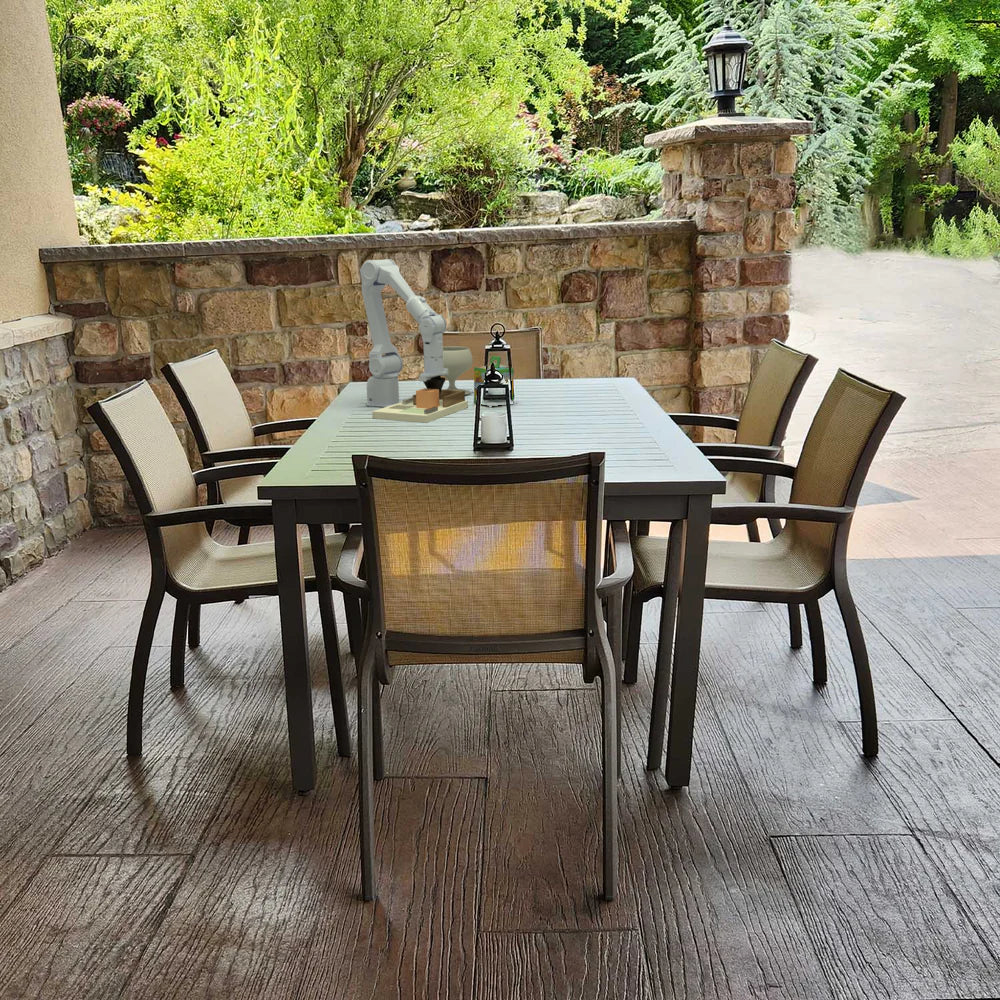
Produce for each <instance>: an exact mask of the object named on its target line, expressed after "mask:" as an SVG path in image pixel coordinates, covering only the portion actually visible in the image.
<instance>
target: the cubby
mask: <svg viewBox="0 0 1000 1000" xmlns="http://www.w3.org/2000/svg"><path fill="white" fill-rule="evenodd" d="M412 397H413V405H416V393H415V394H413V395H412ZM439 400H443V407H445V408H446V407H449V406H452V405H454V404H457V403H460V402H463V401H466V395H465V391H458V390H445V389H444V388H442V390H441V394H440V399H439Z"/></svg>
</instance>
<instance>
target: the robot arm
mask: <svg viewBox="0 0 1000 1000" xmlns="http://www.w3.org/2000/svg"><path fill="white" fill-rule="evenodd" d="M359 272H360V274H359V275H360V277H361V292H362V293H361V295H362V298H363V303H364V308H365V314H366V317H367V318H366V319H367V323H368V327H369V331H370V337H371V341H372V346H373V347H372V349H371V350H370V351H369V353H368V357H369V360H368V361H369V362H368V369H369V372H370V373H371V375H372V376H370V377H369V378H368V379H367V380H366V381H367V383H366V399H367V401H366V404H365V406H367V407H368V406H369V407H380V408H384V407H388V406H391V405H394V404H397V403H400V402H401V401H400V392H399V391H400V390H399V387H400V386H399V376H400V373H401V372H402V370H403V367H404V366H403V365H404V362H403V359H402V357H401V355H400V354H399V350H398V348H397V347H396V346H395V345H394V344H392V341H391V337H390V332H389V326H388V322H387V321H388V320H387V317H386V313H385V309H384V308H385V307H384V304H383V298H382V291H383V290H384V288H385V287H386V286H387V285H389V286H390V287H391V288H392V289H393V290H394V291H395V292H396V293H397V294H398V295H399V296H400V297H401V298H402V299H403V301H404V302H405V303H406V305H405V307H406V308H405V309H406V310H407V311H408V313H409V314H410V315H411V317H412V318H414V320H415V321H416V322H417V324H418V331H419V333H420V334H421V339H422V343H423V369H424V371H423V372H422V373H421V374H418V377H419V382H423V384H424V386H425V387H426V388H427V389H439V399H440V394H441V390H442V389H443V386H444V384H445V383H446V377H444V376H443V375H448V368H443V347H444V342H443V341H444V340H443V334H444V333H445V332H446V330H447V321H446V319H445V318H444V316H443V315H441V314H438V313H436V312H435V310H433V308H432V307H430V305H429V304H428V302H427V300H426V298H425V297H423V296H422V295H416V294H415V292H414V291H413V290H412V288H411V287H410V285H409V284H408V283H407V281H406V280H405V279H404V277H403V275H402V273H400V267H399V266H398V265H397V264H396V262H395V261H394V260H393V259H391V258H385V259H368V260H365V261H364V263H363V264H362V266H361V267H360V268H359Z"/></svg>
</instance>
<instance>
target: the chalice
mask: <svg viewBox="0 0 1000 1000" xmlns="http://www.w3.org/2000/svg"><path fill="white" fill-rule="evenodd" d="M473 359H474V358H473V355H472V353H471V350H470V348H469V347H467V346H459V345H458V346H457V345H456V346H455V345H453V346H451V345H450V346H443V368H448V375H443V376H442V377H444V378H445V379H447V381H448V387H447V388H445V389H444V390H458V391H465V396H466V395H469V394H471V391H470V390H467V389H461V388H460V389H459V388H457V387H456V380H457V379H458V378H459V377H460V376H461V375H463V374H465V373H466V372H468V371H469V370H470V369H471V368H472V367H473V363H474V360H473Z"/></svg>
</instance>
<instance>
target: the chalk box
mask: <svg viewBox="0 0 1000 1000" xmlns="http://www.w3.org/2000/svg"><path fill="white" fill-rule="evenodd" d="M501 360H502V356H497V355H496V356H495V355H491V358H490V361H489V362H490V363H493V364H494V362H495V361H497V363H496V364H494V366H495V368H496V369H497V370H498V371H499V372H500V373H501V374H502V375H503V376H504V379H505V381H506V383H507V382H508V378H509V367H510V366H506V365H501ZM490 363H489V364H490ZM486 366H487V365H484V366H483V365H482V366H475V367H473V370H474V373H473V374H474V375H473V381H474V382H473V383H474V384H473V404H475V405H477V404H476V396H477V387H478V386H479V385H481V384H483V383H484V378H485V373H486ZM514 375H515V369H514V367H511V381H512V401H513V402H514V389H515V388H514V386H515V385H514V382H515V381H514V379H515V376H514Z"/></svg>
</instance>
